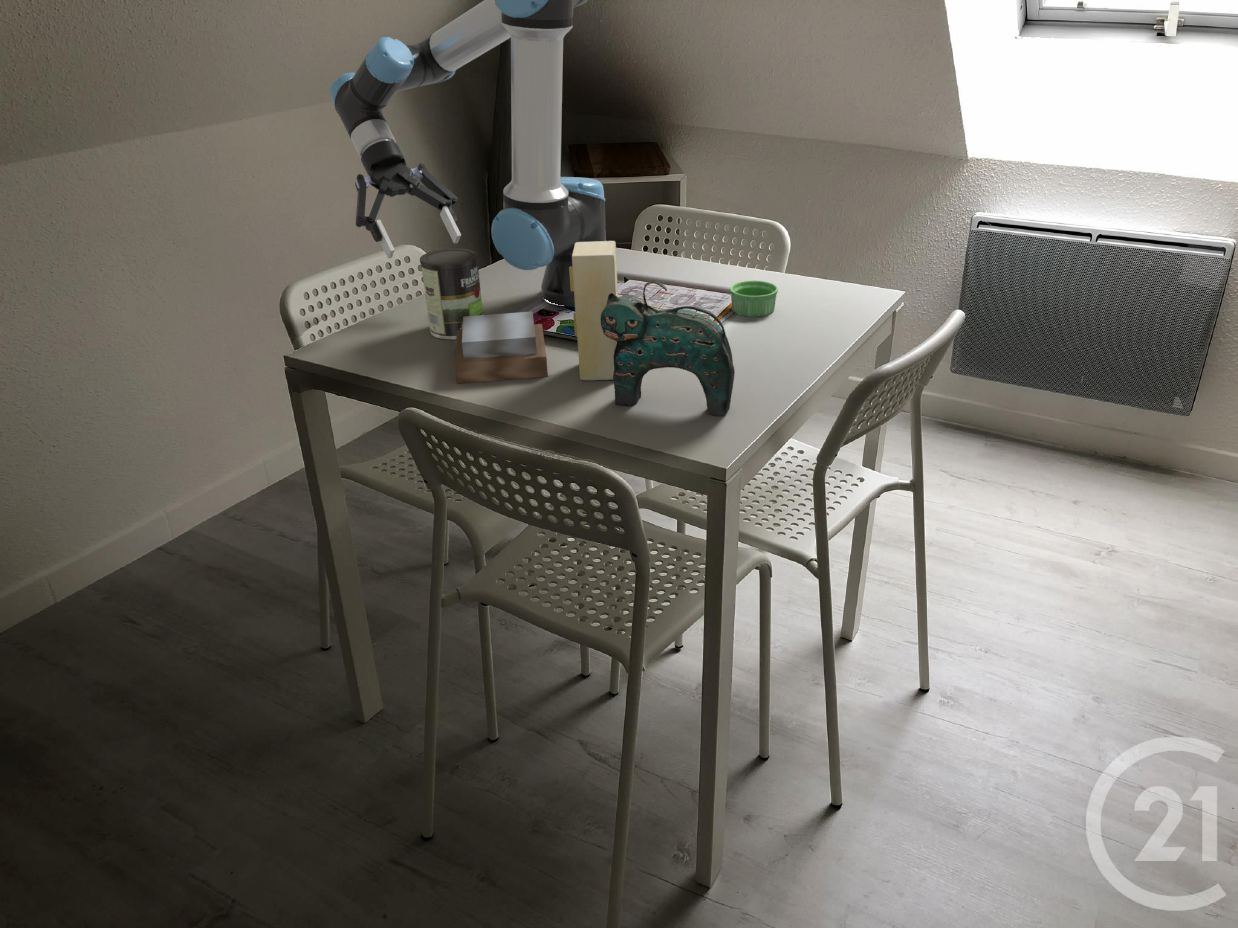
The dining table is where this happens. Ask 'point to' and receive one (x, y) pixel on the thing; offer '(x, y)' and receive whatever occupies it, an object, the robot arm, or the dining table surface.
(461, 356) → the tower base
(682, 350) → the ceramic cat
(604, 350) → the cream tall block
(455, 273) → the coffee can
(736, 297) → the ramekin
